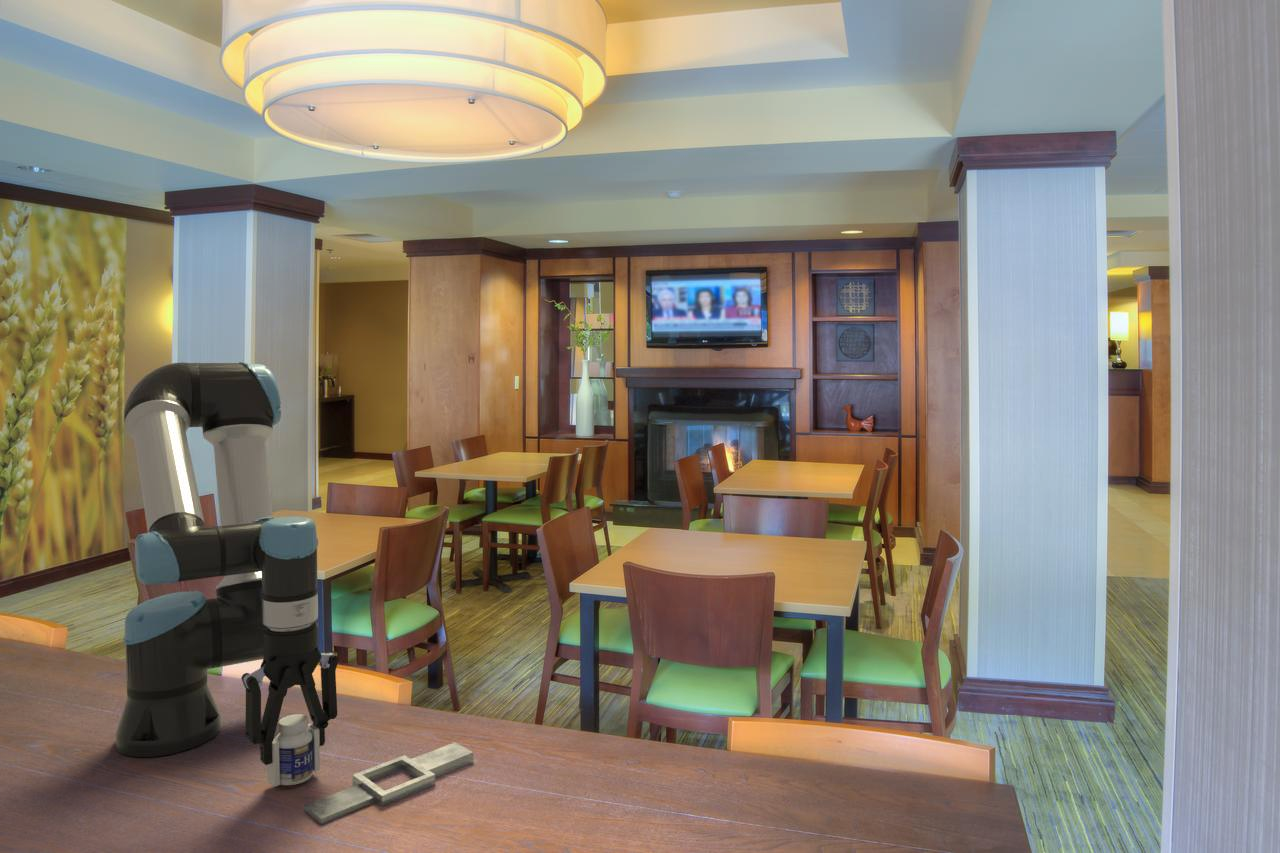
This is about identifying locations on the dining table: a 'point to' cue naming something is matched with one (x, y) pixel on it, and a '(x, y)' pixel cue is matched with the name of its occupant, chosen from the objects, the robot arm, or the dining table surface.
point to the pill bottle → (295, 749)
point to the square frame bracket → (369, 793)
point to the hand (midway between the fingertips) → (293, 774)
